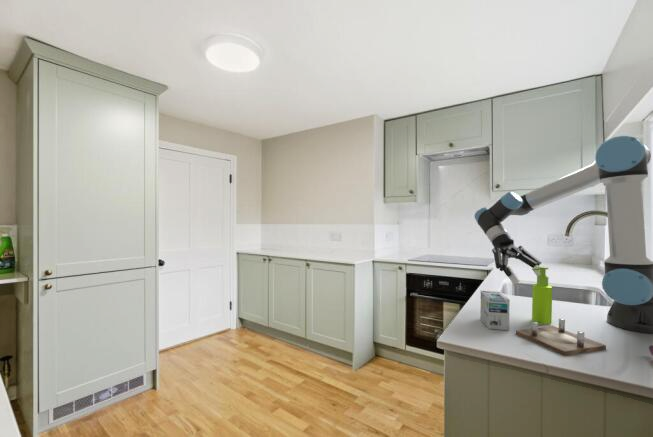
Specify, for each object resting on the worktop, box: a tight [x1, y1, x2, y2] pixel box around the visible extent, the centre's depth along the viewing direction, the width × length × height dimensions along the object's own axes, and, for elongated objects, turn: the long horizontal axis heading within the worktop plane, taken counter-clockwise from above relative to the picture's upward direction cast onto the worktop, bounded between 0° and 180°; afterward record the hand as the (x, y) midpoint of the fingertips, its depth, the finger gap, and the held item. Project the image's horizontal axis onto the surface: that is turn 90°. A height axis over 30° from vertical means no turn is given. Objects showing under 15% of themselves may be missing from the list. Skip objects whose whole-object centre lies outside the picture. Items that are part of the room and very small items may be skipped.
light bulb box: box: [479, 290, 511, 331], centre depth 111 cm, size 11×7×11 cm, turn 168°
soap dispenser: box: [531, 266, 553, 325], centre depth 114 cm, size 6×7×20 cm
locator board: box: [515, 318, 607, 357], centre depth 97 cm, size 16×16×5 cm
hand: (531, 282), depth 117 cm, fingers open, 13 cm apart
